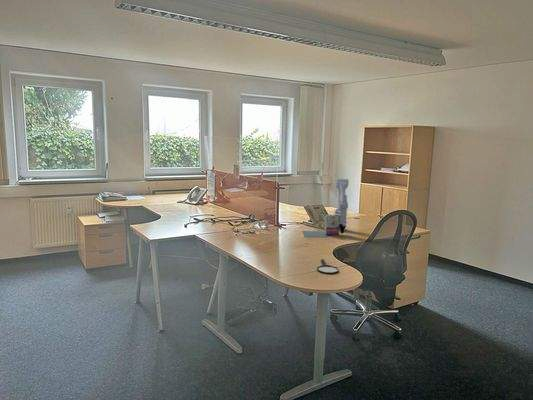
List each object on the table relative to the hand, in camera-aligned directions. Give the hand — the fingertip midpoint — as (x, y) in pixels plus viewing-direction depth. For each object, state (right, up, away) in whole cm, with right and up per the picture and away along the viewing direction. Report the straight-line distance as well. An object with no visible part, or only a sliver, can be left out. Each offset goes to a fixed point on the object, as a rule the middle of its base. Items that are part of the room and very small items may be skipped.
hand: (341, 233), depth 333 cm
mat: (-22, -1, 0) cm, 22 cm away
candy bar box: (-9, -1, 0) cm, 9 cm away
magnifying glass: (-26, -15, -85) cm, 90 cm away
